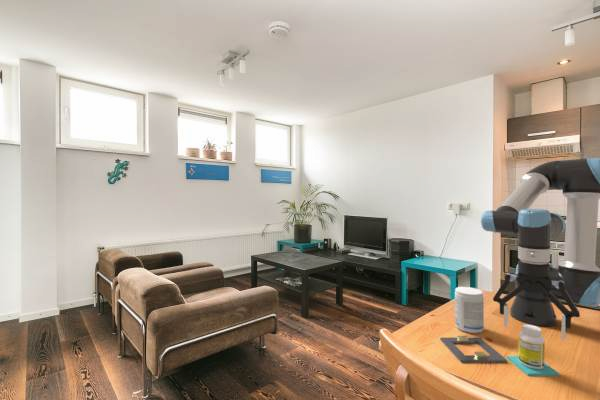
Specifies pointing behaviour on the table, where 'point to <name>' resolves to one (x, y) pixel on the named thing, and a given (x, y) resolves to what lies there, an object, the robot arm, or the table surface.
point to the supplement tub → (469, 309)
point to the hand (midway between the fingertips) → (533, 331)
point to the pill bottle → (531, 347)
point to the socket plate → (478, 356)
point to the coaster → (533, 372)
